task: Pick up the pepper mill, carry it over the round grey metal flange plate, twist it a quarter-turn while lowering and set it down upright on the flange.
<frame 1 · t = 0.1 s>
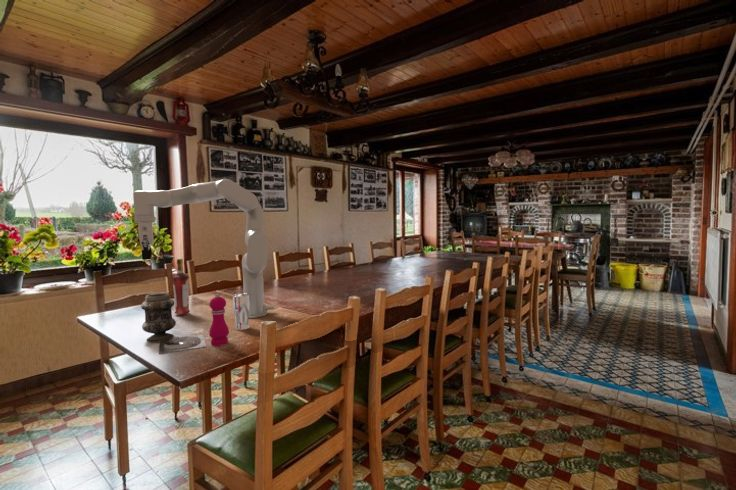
hand: (147, 258, 170), 31 cm above the table, tool pointing down, fingers open, 9 cm apart
stone urn vase: (160, 338, 158), on the table, touching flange
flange: (182, 344, 151), on the table
white drink can: (242, 328, 171), on the table
liquor: (182, 314, 195), on the table
pepper mill: (219, 343, 152), on the table
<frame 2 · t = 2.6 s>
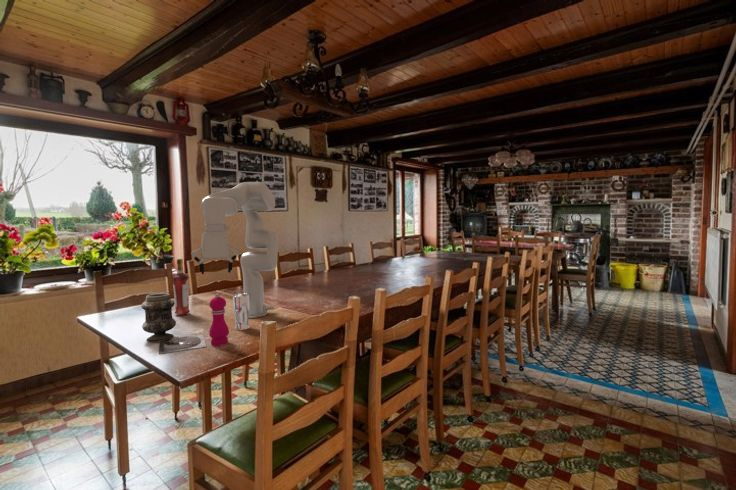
hand: (216, 273, 151), 28 cm above the table, tool pointing down, fingers open, 9 cm apart
nothing on the table moved.
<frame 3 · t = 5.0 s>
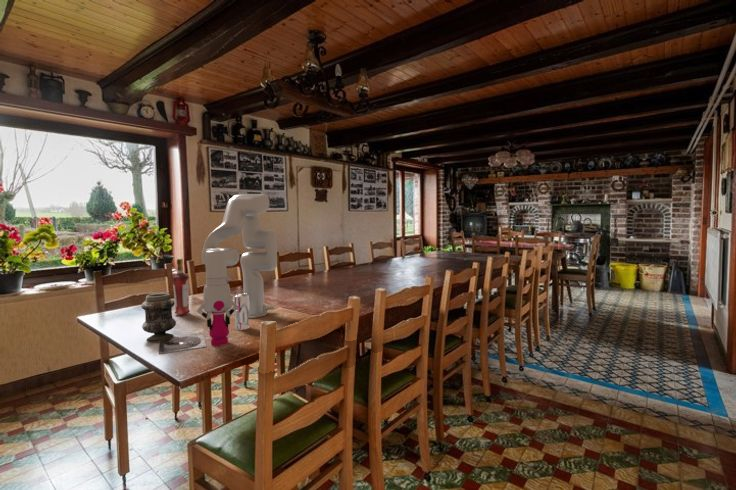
hand: (218, 327, 151), 7 cm above the table, tool pointing down, fingers closed on pepper mill, 5 cm apart
pepper mill: (219, 343, 152), on the table, touching gripper
everything else where it was.
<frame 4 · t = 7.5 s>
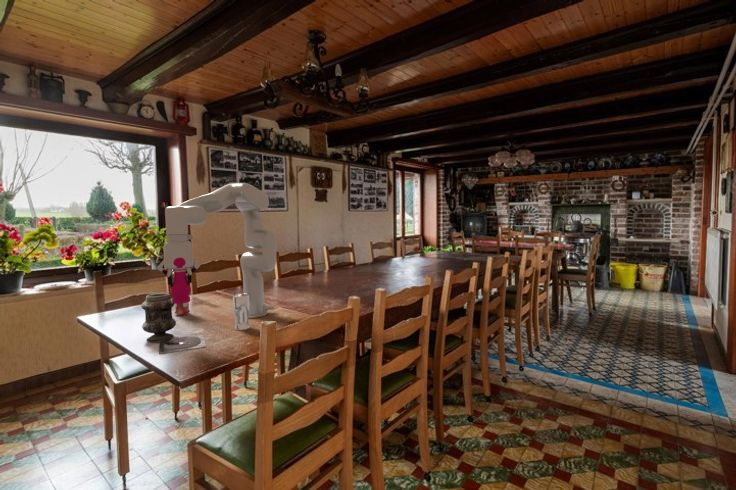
hand: (180, 285, 149), 23 cm above the table, tool pointing down, fingers closed on pepper mill, 5 cm apart
pepper mill: (181, 302, 150), point 17 cm above the table, touching gripper
everything else where it was.
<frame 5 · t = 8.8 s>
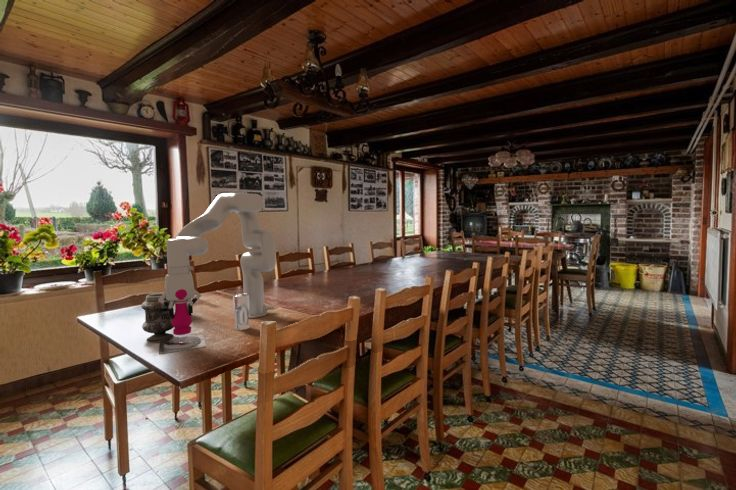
hand: (181, 316, 151), 11 cm above the table, tool pointing down, fingers closed on pepper mill, 5 cm apart
pepper mill: (182, 333, 151), point 4 cm above the table, touching gripper
everything else where it was.
when the fingers open (8 cm above the table, at t = 9.8 s): pepper mill stays where it is, resting on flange.
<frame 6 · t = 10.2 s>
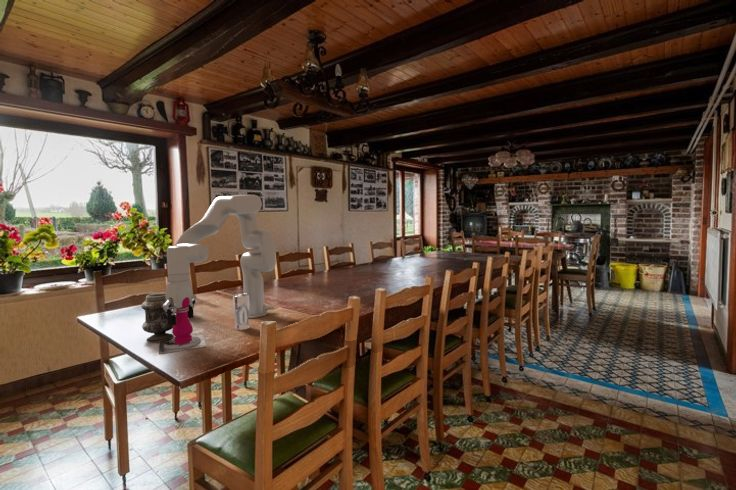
hand: (181, 321, 151), 9 cm above the table, tool pointing down, fingers open, 9 cm apart
pepper mill: (183, 341, 152), point 1 cm above the table, touching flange
everything else where it was.
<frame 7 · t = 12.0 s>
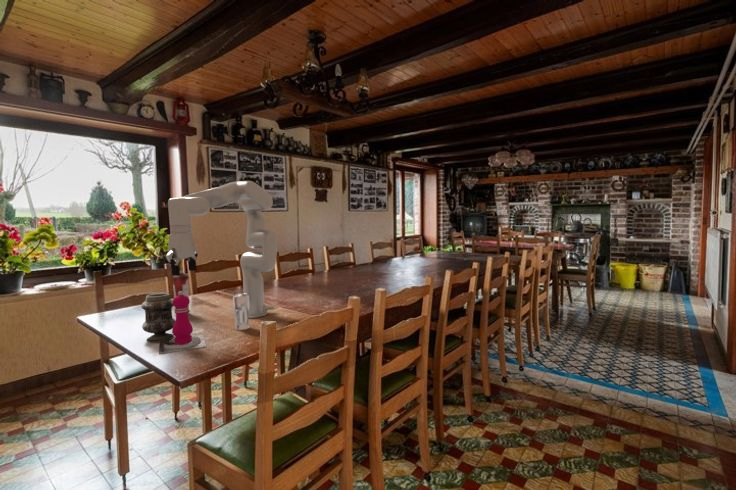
hand: (184, 272, 153), 27 cm above the table, tool pointing down, fingers open, 9 cm apart
nothing on the table moved.
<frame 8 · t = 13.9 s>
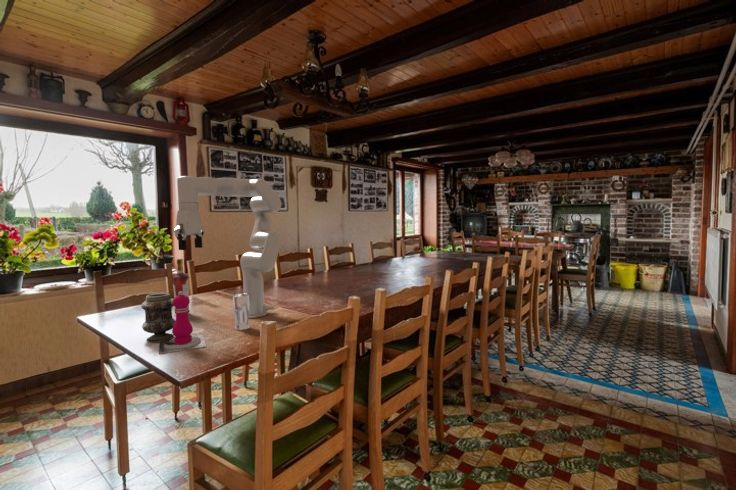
hand: (190, 248, 159), 36 cm above the table, tool pointing down, fingers open, 9 cm apart
nothing on the table moved.
at the end: pepper mill 0.4 cm from the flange (horizontally); pepper mill tilted 0°; pepper mill point 0.7 cm above the table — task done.
